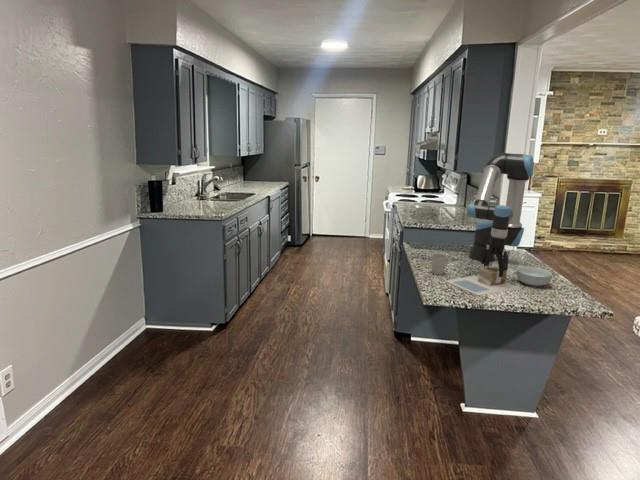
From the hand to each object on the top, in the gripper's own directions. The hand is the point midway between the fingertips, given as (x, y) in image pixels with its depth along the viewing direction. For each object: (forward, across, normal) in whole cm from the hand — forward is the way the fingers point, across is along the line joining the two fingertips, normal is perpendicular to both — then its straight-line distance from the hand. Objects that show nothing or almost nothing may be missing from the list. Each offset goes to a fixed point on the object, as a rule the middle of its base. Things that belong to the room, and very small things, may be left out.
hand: (491, 280), depth 228 cm
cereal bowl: (+2, +9, +20) cm, 22 cm away
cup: (+2, -22, -16) cm, 27 cm away
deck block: (+1, 0, 0) cm, 1 cm away
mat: (+2, 0, -7) cm, 7 cm away
